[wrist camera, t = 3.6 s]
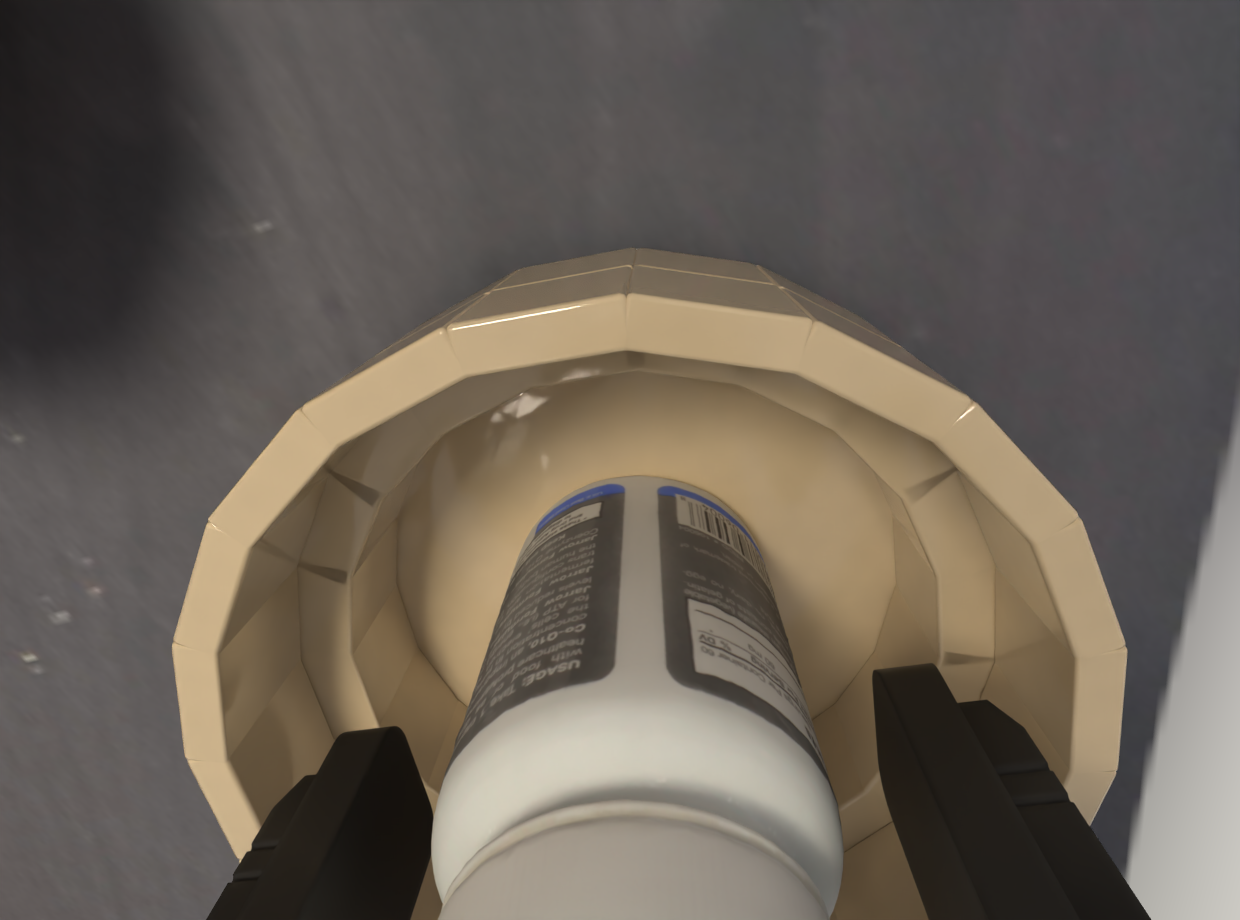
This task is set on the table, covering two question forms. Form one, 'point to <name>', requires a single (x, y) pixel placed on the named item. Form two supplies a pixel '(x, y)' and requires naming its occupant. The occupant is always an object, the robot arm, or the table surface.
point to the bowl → (657, 447)
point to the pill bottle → (638, 729)
